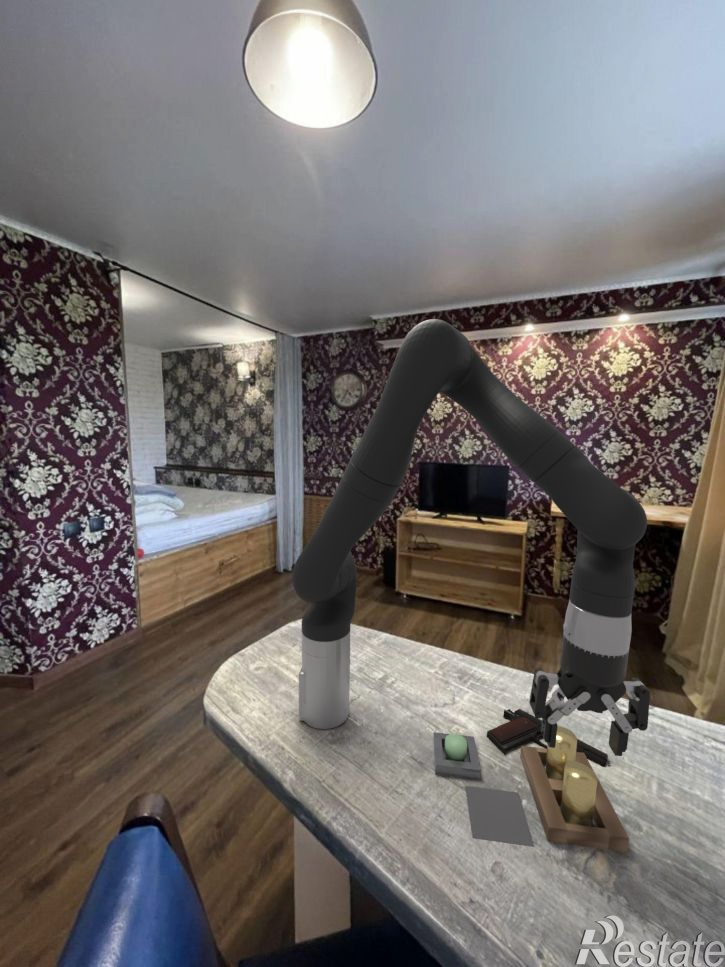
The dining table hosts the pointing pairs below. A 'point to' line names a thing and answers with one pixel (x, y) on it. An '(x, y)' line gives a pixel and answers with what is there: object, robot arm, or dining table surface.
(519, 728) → the handgun
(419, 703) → the dining table surface
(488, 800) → the mat
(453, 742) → the button
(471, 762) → the button housing
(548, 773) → the billet seated
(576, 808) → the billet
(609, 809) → the brown wooden rectangular frame
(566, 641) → the robot arm
